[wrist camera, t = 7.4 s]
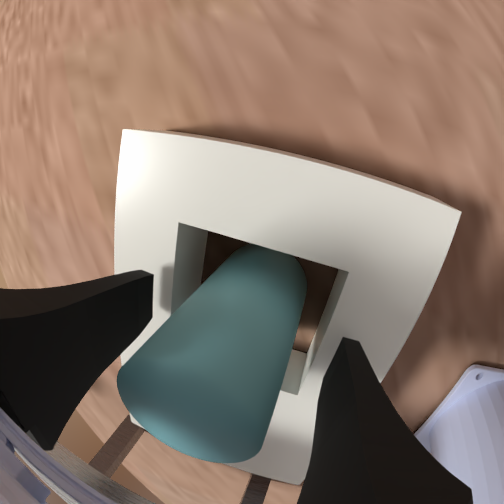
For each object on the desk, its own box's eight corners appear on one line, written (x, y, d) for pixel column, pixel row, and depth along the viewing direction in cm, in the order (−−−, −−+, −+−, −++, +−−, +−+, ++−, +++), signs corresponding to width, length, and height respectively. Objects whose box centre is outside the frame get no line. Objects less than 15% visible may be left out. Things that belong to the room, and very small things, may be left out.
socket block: (434, 196, 10) (461, 212, 7) (306, 451, 17) (298, 485, 14) (164, 130, 12) (123, 129, 10) (151, 395, 19) (131, 421, 16)
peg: (317, 257, 12) (283, 401, 5) (294, 331, 14) (247, 476, 7) (229, 232, 13) (108, 331, 6) (217, 307, 15) (126, 425, 7)
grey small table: (317, 409, 15) (273, 583, 5) (269, 481, 20) (231, 581, 10) (113, 331, 18) (1, 432, 8) (128, 423, 22) (66, 501, 12)
